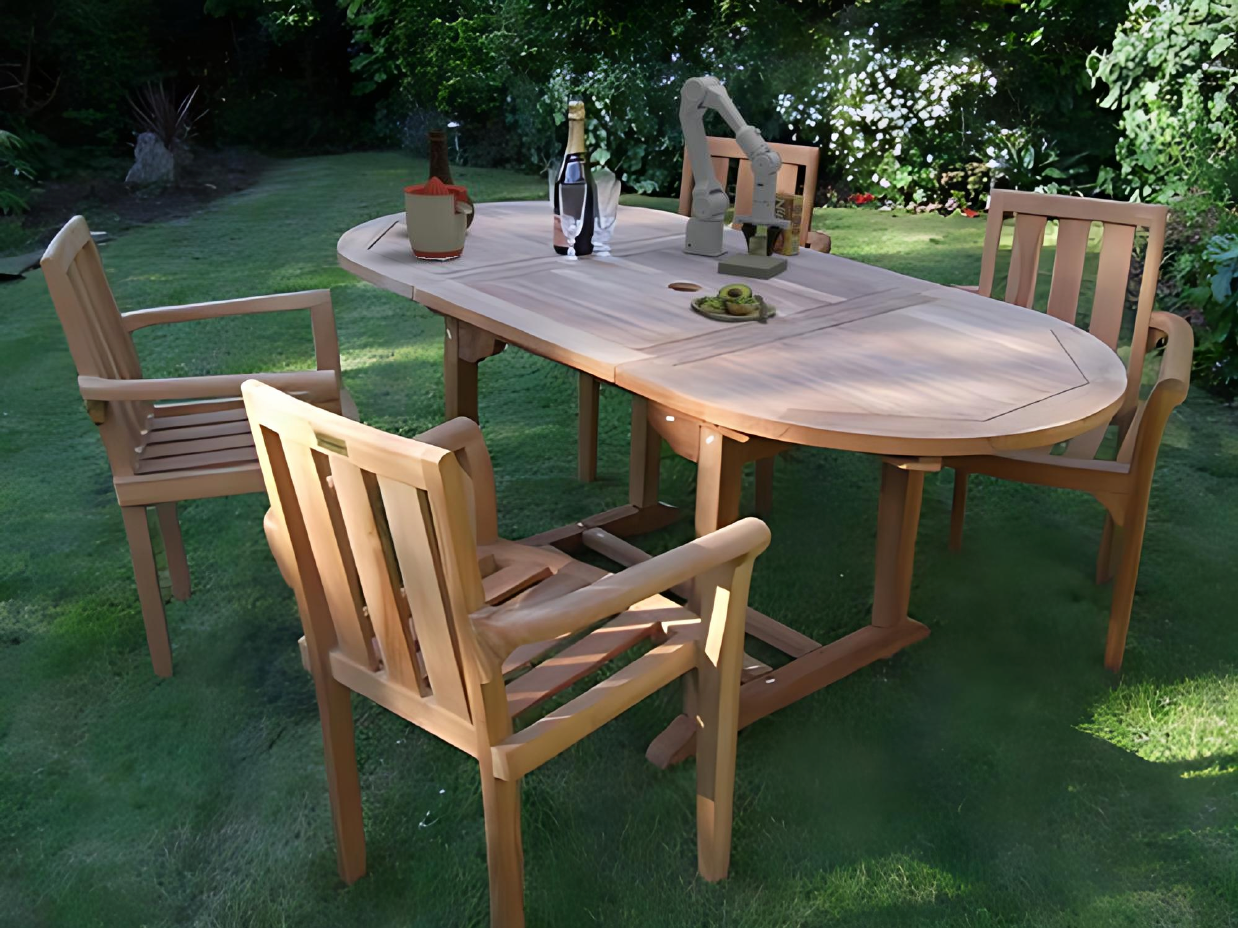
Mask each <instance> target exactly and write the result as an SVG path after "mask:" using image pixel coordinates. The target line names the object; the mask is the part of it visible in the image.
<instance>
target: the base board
mask: <svg viewBox="0 0 1238 928" xmlns="http://www.w3.org/2000/svg"><path fill="white" fill-rule="evenodd" d="M787 269H788V259H787V258H781V257H773V256H771V257H766V256H758V255H750V254H748V253H743V252H738V253H736V254H734V255H732V256H730V257H728V258H726V259H725V258H724V259H723V260H721V261H718V263H717V273H718V274H725V275H733V276H740V277H745V278H754V279H761V280H769V279H771V278H773V277H775V276H777V275H779V274H780V273H782V272H784V271H786V270H787Z"/></svg>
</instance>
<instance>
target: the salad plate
mask: <svg viewBox="0 0 1238 928" xmlns="http://www.w3.org/2000/svg"><path fill="white" fill-rule="evenodd" d="M690 307H691V308H692V309H693V310H694V311H695V312H696V313H698V314H701V315H704V316H705V317H708V318H711V319H714V320H718V321H722V322H733V323H734V322H737V323H741V322H748V321H749V322H750V321H760V320H763V319H768V318H769V316H771V315H774V314H775V313H776V312H777V307H776V306H775V305H772V304H769V303H767V302H765V301H764V298H763V296H762V295H759V294H754V295H753V291H752V289H751V287H749V286H748V285H745V284H742V283H736V284H735V283H734V284H730V285H726V286H723V287H721V288H720V289H719V290H718V293H717V294H716V296H708V295H705V296H704V297H697V298H696V297H695V298H693V299H692V300H691V301H690Z"/></svg>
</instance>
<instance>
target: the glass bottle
mask: <svg viewBox="0 0 1238 928" xmlns="http://www.w3.org/2000/svg"><path fill="white" fill-rule="evenodd" d="M446 132H447V131H446V130H443V129H430V130H429V131H428V134H429V136H427V137H426V138H425V139H426V140H427V141H429V175H428V176H429V177H428V181H429V180H430V179H431V178H432V177H437V178H438V179H439V180H440V181H441V182H442V183H443V184H445V185H455V184H454V181H453V178H452V174H451V170H450V165H449V159H448V158H449V156H448V149H447V138H448V136H447V135H446V134H447V133H446ZM467 204H468V205H470V206H471V208H472V213H470V214H466V215H467V230H468V229H469V228H470V226H471V225H472V223H473V221H474V217H475V206H474V203H473V200H472V199H471V197H470V196H468V195H467Z"/></svg>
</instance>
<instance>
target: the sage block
mask: <svg viewBox="0 0 1238 928" xmlns="http://www.w3.org/2000/svg"><path fill="white" fill-rule="evenodd" d="M767 244H768V240H767V236H766V235H762V234H755V236H753V237H750V242H749V254H750V255H758V256H766V257H773V254H772V255H771V256H767Z"/></svg>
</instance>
